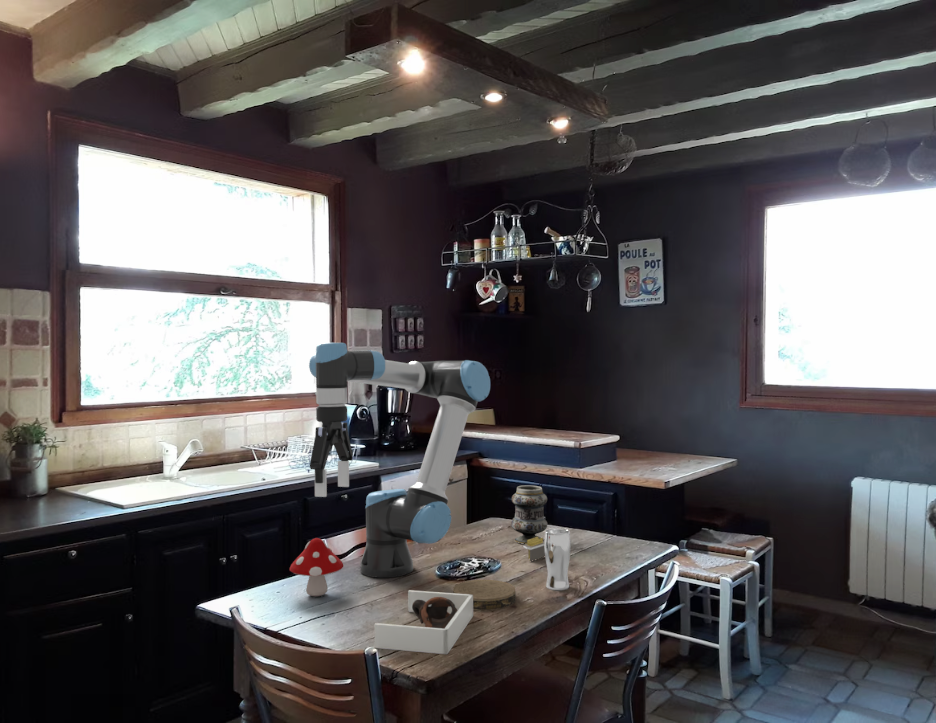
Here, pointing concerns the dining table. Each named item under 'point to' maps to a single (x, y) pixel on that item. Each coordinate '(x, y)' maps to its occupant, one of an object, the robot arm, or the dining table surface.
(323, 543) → the decorative mushroom
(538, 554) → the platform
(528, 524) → the apothecary jar
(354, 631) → the dining table surface
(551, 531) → the beer glass
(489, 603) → the wood slice
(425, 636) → the bin
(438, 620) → the pottery mug
